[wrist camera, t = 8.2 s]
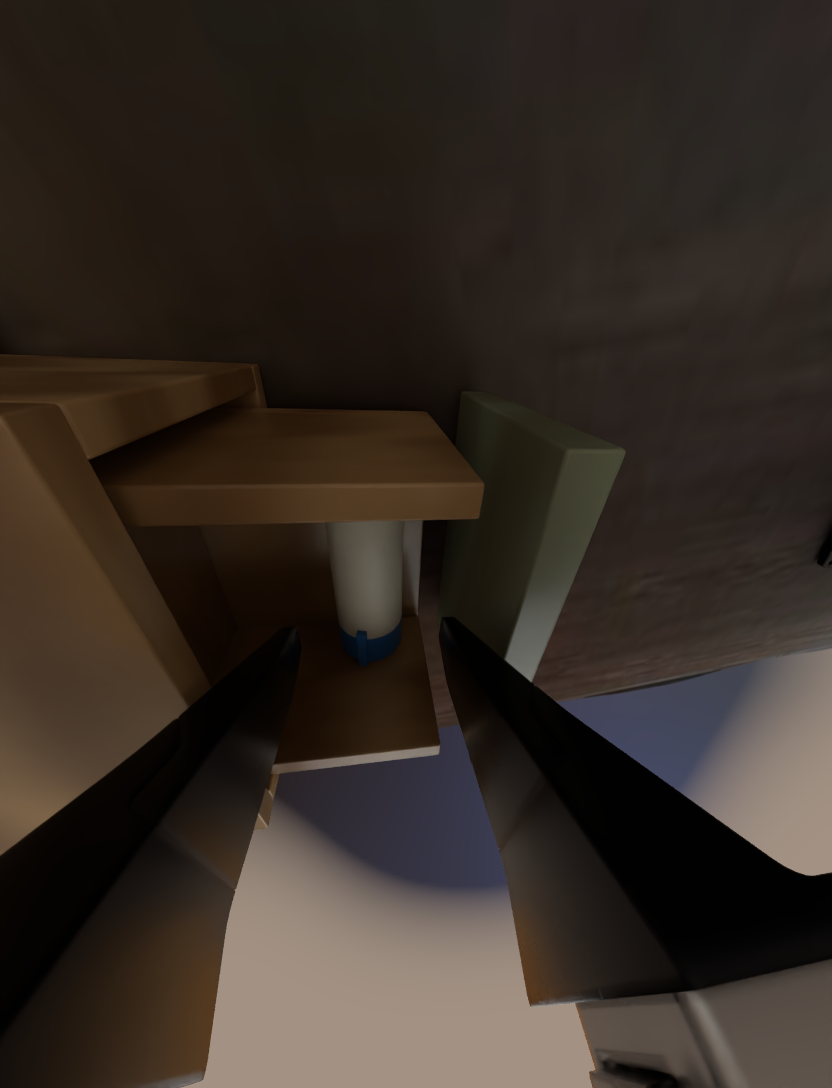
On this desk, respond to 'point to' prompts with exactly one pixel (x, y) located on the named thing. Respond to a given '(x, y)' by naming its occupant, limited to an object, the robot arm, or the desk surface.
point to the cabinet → (87, 576)
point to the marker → (367, 586)
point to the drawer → (359, 496)
